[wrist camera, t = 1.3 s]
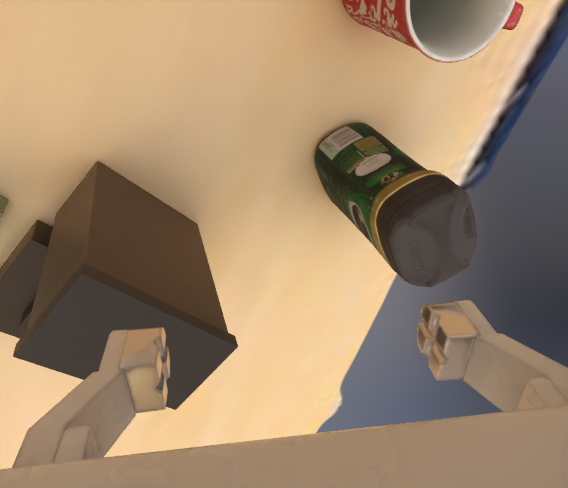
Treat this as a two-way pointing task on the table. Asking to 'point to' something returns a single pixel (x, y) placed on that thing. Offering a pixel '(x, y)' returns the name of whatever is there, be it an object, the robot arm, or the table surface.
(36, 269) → the dark grey tall panel
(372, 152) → the coffee jar
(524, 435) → the robot arm
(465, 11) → the mug
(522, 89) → the table surface
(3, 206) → the panel
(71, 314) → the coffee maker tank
